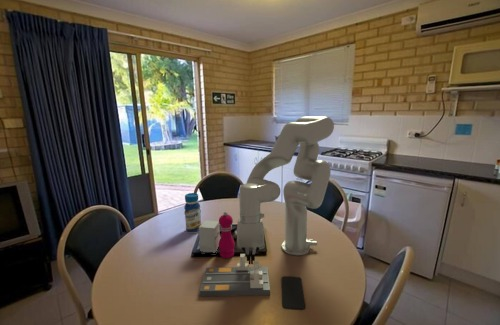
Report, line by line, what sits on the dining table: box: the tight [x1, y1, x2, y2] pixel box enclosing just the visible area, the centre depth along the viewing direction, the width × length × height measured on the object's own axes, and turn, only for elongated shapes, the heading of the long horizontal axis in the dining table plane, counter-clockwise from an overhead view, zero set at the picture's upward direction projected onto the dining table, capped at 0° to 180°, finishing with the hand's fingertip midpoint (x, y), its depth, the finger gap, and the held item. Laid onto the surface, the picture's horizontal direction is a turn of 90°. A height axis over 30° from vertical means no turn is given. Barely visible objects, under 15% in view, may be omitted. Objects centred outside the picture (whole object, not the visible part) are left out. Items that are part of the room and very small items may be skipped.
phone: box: [281, 275, 306, 311], centre depth 83 cm, size 7×1×15 cm
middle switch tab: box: [250, 260, 263, 279], centre depth 87 cm, size 4×2×6 cm, turn 90°
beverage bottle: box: [183, 192, 202, 234], centre depth 127 cm, size 8×8×20 cm
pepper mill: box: [218, 211, 236, 259], centre depth 104 cm, size 7×7×20 cm
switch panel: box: [199, 266, 271, 297], centre depth 88 cm, size 24×13×2 cm, turn 90°
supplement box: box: [198, 220, 221, 253], centre depth 109 cm, size 7×7×13 cm
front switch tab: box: [250, 270, 263, 288], centre depth 82 cm, size 4×2×6 cm, turn 90°
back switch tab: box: [236, 253, 250, 271], centre depth 92 cm, size 4×2×6 cm, turn 90°
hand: (250, 262), depth 92 cm, fingers closed
